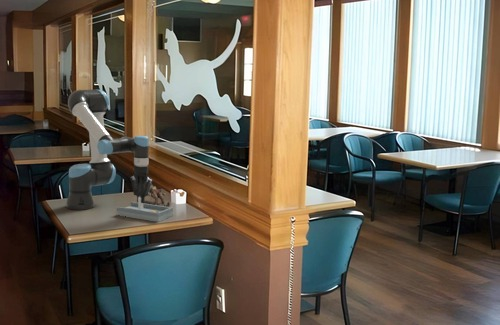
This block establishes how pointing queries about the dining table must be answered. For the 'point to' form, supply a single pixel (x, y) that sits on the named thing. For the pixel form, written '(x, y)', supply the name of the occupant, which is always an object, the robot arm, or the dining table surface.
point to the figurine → (157, 195)
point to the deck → (146, 212)
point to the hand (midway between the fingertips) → (140, 208)
